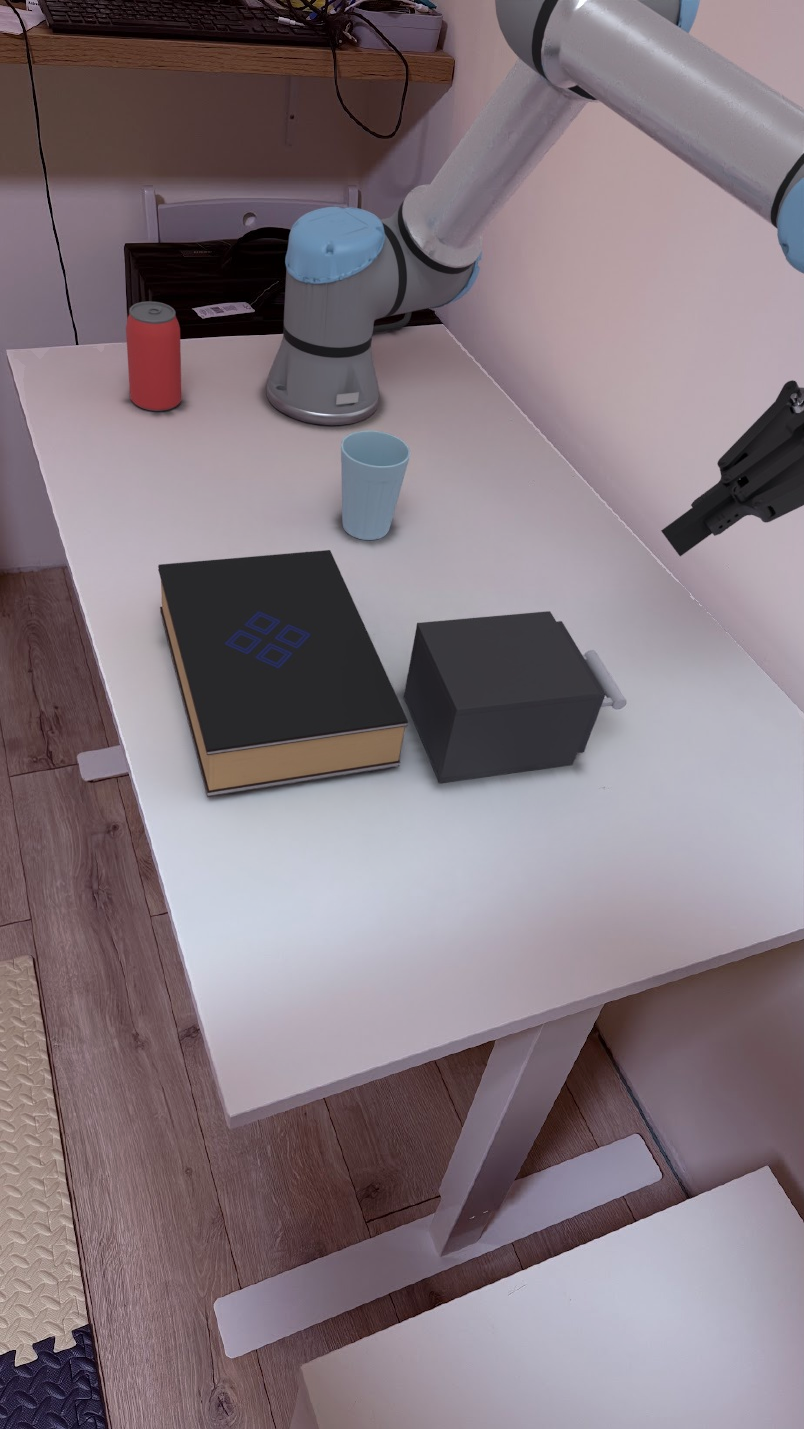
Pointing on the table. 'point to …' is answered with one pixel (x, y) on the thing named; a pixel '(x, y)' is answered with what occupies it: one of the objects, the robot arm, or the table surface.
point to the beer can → (154, 356)
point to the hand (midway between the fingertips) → (670, 543)
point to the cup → (371, 481)
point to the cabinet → (497, 695)
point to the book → (277, 672)
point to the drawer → (596, 685)
